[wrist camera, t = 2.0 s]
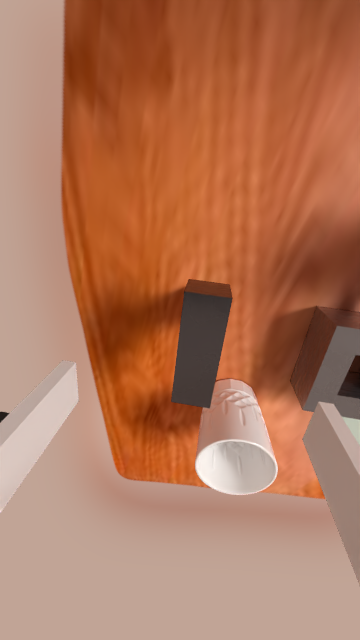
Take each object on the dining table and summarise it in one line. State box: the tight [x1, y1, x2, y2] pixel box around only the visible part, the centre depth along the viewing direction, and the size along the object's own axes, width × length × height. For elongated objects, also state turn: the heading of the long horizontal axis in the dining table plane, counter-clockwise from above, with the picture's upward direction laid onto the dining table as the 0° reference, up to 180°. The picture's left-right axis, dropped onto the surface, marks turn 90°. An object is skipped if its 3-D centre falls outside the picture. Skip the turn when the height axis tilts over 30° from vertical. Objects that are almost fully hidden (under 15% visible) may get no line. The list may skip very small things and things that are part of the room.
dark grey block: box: [171, 279, 232, 408], centre depth 23 cm, size 9×3×12 cm, turn 174°
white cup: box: [195, 379, 278, 495], centre depth 29 cm, size 8×8×10 cm
